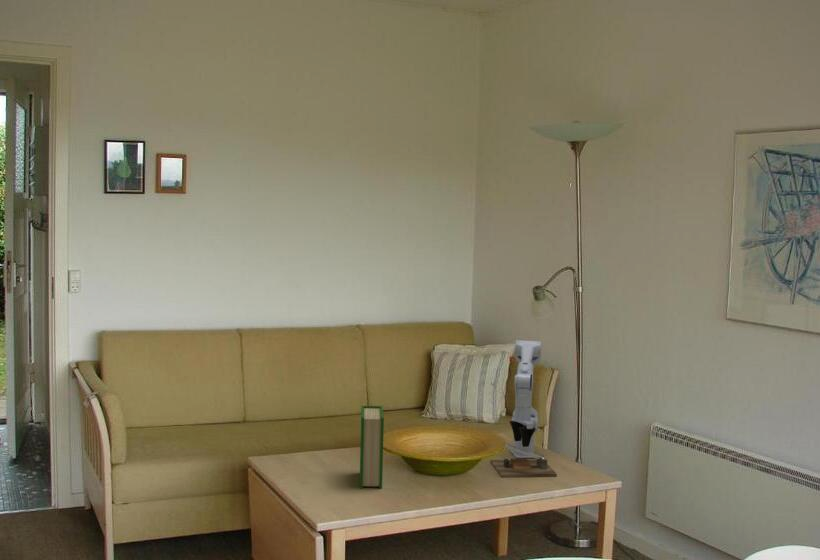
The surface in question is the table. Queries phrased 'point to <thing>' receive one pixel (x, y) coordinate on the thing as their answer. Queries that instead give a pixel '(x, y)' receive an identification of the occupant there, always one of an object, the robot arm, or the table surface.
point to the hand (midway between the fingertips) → (521, 443)
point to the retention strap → (524, 452)
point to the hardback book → (371, 446)
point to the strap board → (523, 468)
